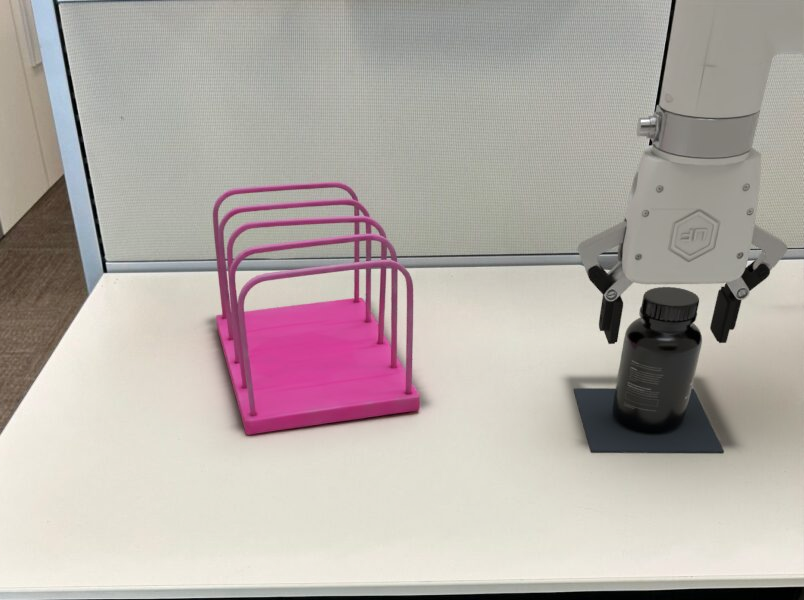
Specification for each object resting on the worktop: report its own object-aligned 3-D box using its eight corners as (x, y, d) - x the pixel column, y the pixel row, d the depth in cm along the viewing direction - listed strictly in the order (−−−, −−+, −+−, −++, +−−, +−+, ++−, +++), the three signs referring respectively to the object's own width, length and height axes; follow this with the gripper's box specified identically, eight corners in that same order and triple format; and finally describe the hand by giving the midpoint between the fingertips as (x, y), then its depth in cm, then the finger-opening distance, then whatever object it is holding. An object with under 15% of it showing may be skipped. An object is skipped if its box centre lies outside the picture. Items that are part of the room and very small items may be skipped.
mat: (693, 390, 94) (693, 388, 94) (723, 452, 85) (723, 451, 84) (573, 390, 94) (573, 388, 94) (590, 452, 85) (591, 450, 85)
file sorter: (362, 312, 110) (360, 172, 100) (420, 413, 91) (424, 253, 81) (217, 329, 107) (199, 187, 97) (246, 436, 89) (227, 275, 79)
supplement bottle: (698, 426, 88) (729, 304, 80) (637, 441, 86) (662, 318, 78) (655, 394, 93) (680, 276, 85) (596, 408, 91) (616, 289, 83)
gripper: (600, 148, 71) (572, 356, 82) (833, 143, 70) (773, 355, 81) (586, 122, 76) (562, 320, 87) (801, 117, 75) (749, 318, 86)
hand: (663, 337), depth 84 cm, fingers open, 9 cm apart
